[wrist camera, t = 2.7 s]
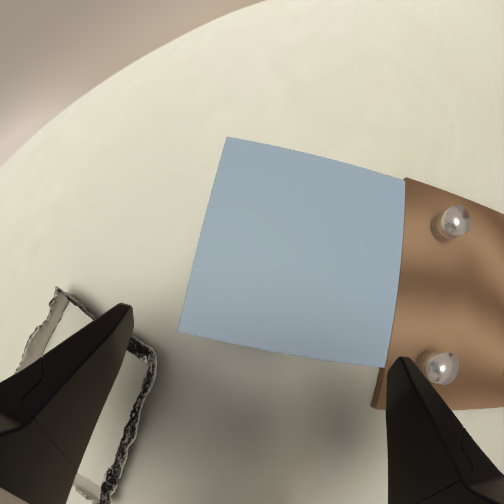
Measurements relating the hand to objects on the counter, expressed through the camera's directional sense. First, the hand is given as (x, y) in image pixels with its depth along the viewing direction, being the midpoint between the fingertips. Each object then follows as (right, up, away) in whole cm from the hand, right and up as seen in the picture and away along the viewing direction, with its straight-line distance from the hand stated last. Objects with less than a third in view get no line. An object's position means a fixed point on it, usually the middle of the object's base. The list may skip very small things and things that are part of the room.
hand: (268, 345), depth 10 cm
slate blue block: (0, +1, +10) cm, 10 cm away
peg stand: (+17, -1, +10) cm, 20 cm away
